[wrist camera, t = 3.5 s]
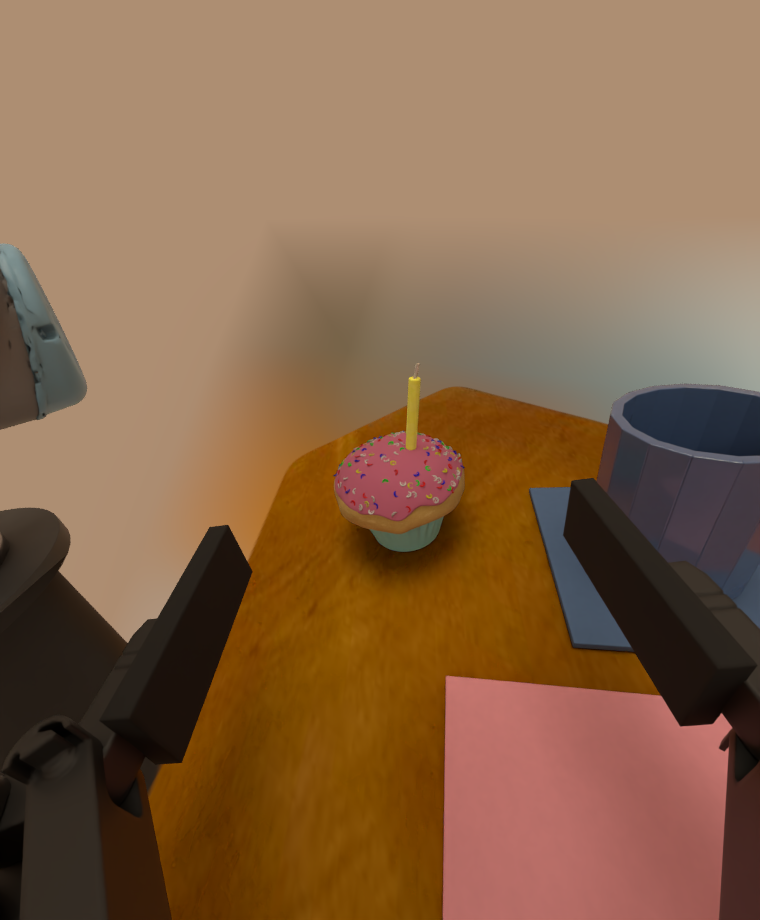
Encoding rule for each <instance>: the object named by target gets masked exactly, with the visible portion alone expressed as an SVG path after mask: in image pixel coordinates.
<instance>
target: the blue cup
mask: <svg viewBox="0 0 760 920" xmlns="http://www.w3.org/2000/svg"><path fill="white" fill-rule="evenodd" d="M596 482H597V483H598V484H599V485H600V486H601V487H602V488H603V490H604V491H605V492H606V493H607V494H608V495H609V496H610V498H611V499H612V500H613V501H614V502H615V503H616V504H617V505H618V507H619V508H620V509H621V510H622V511H623V512H624V513H625V515H626V516H627V517H628V518H629V519H630V520H631V521H632V523H633V524H634V525H635V526H636V527H637V528H638V529H639V530H640V532H641V533H642V534H643V535H644V536H645V537H646V538H647V540H648V541H649V542H650V543H651V544H652V545H653V546H654V548H655V549H656V550H657V551H658V552H659V553H660V554H661V555H662V557H663V558H664V559H665V560H666V561H667V562H668V563H669V562H678V561H687V562H689V563H690V564H692V565H693V566H695V567H697V568H698V569H700V570H701V571H703V572H704V573H706V574H707V575H708V576H709V577H710V578H711V579H712V580H713V581H714V582H715V583H716V584H717V585H718V586H719V587H720V588H721V589H722V590H723V593H724V594H727V595H728V596H729V597H730V598H731V599H732V600H733V599H735V598H736V597H738V596H739V595H741V593H742V592H743V590H744V589H745V587H746V586H747V584H748V583H749V581H750V580H751V578H752V576H753V575H754V573H755V571H756V570H757V568H758V566H759V565H760V392H756V391H751V390H745V389H739V388H732V387H726V386H720V385H700V384H699V385H698V384H674V385H662V386H652V387H647V388H643V389H639V390H636V391H632V392H629V393H626V394H625V395H624V396H622V397H621V398H619V399H617V400H616V401H614V403H613V405H612V410H611V414H610V419H609V424H608V429H607V434H606V438H605V443H604V448H603V453H602V457H601V462H600V467H599V472H598V477H597V481H596Z"/></svg>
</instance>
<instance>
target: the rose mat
mask: <svg viewBox="0 0 760 920" xmlns="http://www.w3.org/2000/svg"><path fill="white" fill-rule="evenodd" d="M731 729H732V727H731V725H730V724H729V723H728V721H727V720H726V718H725V717H724V716H723V714H722V713H721V714H720V716H719V717H718V718H717V720H716V721H715V722H714V724H709V725H696V726H682V727H680V726H679V724H678V722H677V721H676V719H675V717H674V716H673V714H672V712H671V711H670V709H669V708H668V706H667V704H666V703H665V701H664V699H663V698H662V696H658V695H647V694H636V693H625V692H615V691H604V690H593V689H583V688H572V687H561V686H550V685H540V684H529V683H518V682H508V681H497V680H486V679H476V678H465V677H454V676H446V701H445V777H444V854H443V920H719V910H720V892H721V875H722V858H723V840H724V823H725V805H726V788H727V771H728V753H729V747H728V748H727V749H726V751H725V752H724V751H722V750H720V749H719V746H720V743H721V741H722V740H723V738H724V737H725V736H726V735H727V734H728V732H729V731H730V730H731Z"/></svg>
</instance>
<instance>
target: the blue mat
mask: <svg viewBox="0 0 760 920" xmlns="http://www.w3.org/2000/svg"><path fill="white" fill-rule="evenodd" d="M529 493H530V497H531V500H532V504H533V507H534V511H535V514H536V518H537V521H538V525H539V528H540V532H541V536H542V539H543V543H544V546H545V550H546V553H547V557H548V560H549V564H550V567H551V571H552V575H553V578H554V582H555V585H556V589H557V592H558V596H559V599H560V603H561V607H562V610H563V614H564V617H565V621H566V624H567V628H568V631H569V635H570V638H571V642H572V646H573V647H574V648H588V649H603V650H617V651H631V652H634V650H633V649H632V647H631V646H630V644H629V642H628V641H627V639H626V637H625V636H624V634H623V633H622V631H621V629H620V628H619V626H618V624H617V623H616V621H615V619H614V618H613V616H612V615H611V613H610V611H609V610H608V608H607V606H606V605H605V603H604V601H603V600H602V598H601V597H600V595H599V593H598V592H597V590H596V588H595V587H594V585H593V584H592V582H591V580H590V579H589V577H588V575H587V574H586V572H585V570H584V569H583V567H582V566H581V564H580V562H579V561H578V559H577V557H576V556H575V554H574V553H573V551H572V549H571V548H570V546H569V544H568V543H567V541H566V539H565V538H564V536H563V532H564V526H565V519H566V513H567V507H568V500H569V494H570V487H558V488H530V489H529ZM733 601H734V603H735V604H736V605H737V608H740V609H741V610H742V611H743V612H744V613H745V614H746V615H747V616H748V617H749V618H750V619H751V620H752V621H753V622H754V623H755V624H756V625H757V626H758V627H759V628H760V565H759V566H758V568H757V570H756V571H755V573H754V575H753V576H752V578H751V580H750V581H749V583H748V584H747V586H746V587H745V589H744V590H743V592H742V593H741V595H739V596H738V597H736V598H735V599H733Z"/></svg>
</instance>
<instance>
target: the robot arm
mask: <svg viewBox="0 0 760 920" xmlns="http://www.w3.org/2000/svg"><path fill="white" fill-rule="evenodd" d="M86 392H87V385H86V380H85V378H84V375H83V373H82V370H81V368H80V366H79V363H78V361H77V359H76V357H75V355H74V352H73V350H72V348H71V346H70V344H69V342H68V340H67V338H66V336H65V333H64V331H63V330H62V327H61V325H60V323H59V321H58V319H57V317H56V315H55V313H54V311H53V309H52V307H51V305H50V303H49V301H48V299H47V297H46V295H45V293H44V291H43V289H42V287H41V285H40V283H39V281H38V280H37V278H36V276H35V274H34V272H33V270H32V268H31V267H30V265H29V263H28V261H27V260H26V258H25V257H24V256H23V254H22V252H21V251H20V250H19V249H18V248H16V247H14V246H13V245H10V244H0V429H4V428H8V427H11V426H15V425H18V424H22V423H25V422H28V421H32V420H39V419H43V418H44V417H46V415H47V414H49V413H52V412H55V411H58V410H61V409H64V408H66V407H69V406H72V405H75V404H77V403H79V402H80V401H81V400H82V399H83V398H84V397H85V395H86ZM563 536H564V538H565V539H566V541H567V543H568V544H569V546H570V548H571V549H572V551H573V553H574V554H575V556H576V557H577V559H578V561H579V562H580V564H581V566H582V567H583V569H584V570H585V572H586V574H587V575H588V577H589V579H590V580H591V582H592V584H593V585H594V587H595V588H596V590H597V592H598V593H599V595H600V597H601V598H602V600H603V601H604V603H605V605H606V606H607V608H608V610H609V611H610V613H611V615H612V616H613V618H614V619H615V621H616V623H617V624H618V626H619V628H620V629H621V631H622V633H623V634H624V636H625V637H626V639H627V641H628V642H629V644H630V646H631V647H632V649H633V650H634V652H635V654H636V655H637V657H638V659H639V660H640V662H641V664H642V665H643V667H644V668H645V670H646V672H647V673H648V675H649V677H650V678H651V680H652V681H653V683H654V685H655V686H656V688H657V690H658V691H659V693H660V695H661V696H662V698H663V699H664V701H665V703H666V704H667V706H668V708H669V709H670V711H671V712H672V714H673V716H674V717H675V719H676V721H677V722H678V724H679V726H680V727H682V726H696V725H709V724H714V722H715V721H716V720H717V718H718V717H719V716H720V714H721V713H722V714H723V716H724V717H725V718H726V720H727V721H728V723H729V724H730V725H731V727H732V729H731V730H730V731H729V732H728V734H727V735H726V736H725V737H724V738H723V740H722V741H721V743H720V746H719V749H720V750H722V751H724V752H725V751H726V749H727V748H728V747H729V753H728V771H727V788H726V805H725V823H724V840H723V858H722V875H721V892H720V910H719V920H760V628H759V627H758V626H757V625H756V624H755V623H754V622H753V621H752V620H751V619H750V618H749V617H748V616H747V615H746V614H745V613H744V612H743V611H742V610H741V609H740V608H737V605H736V604H735V603H734V601H733V600H732V599H731V598H730V597H729V596H728V595H727V594H724V593H723V590H722V589H721V588H720V587H719V586H718V585H717V584H716V583H715V582H714V581H713V580H712V579H711V578H710V577H709V576H708V575H707V574H706V573H704V572H703V571H701V570H700V569H698V568H697V567H695V566H693V565H692V564H690V563H689V562H687V561H678V562H669V563H668V562H667V561H666V560H665V559H664V558H663V557H662V555H661V554H660V553H659V552H658V551H657V550H656V549H655V548H654V546H653V545H652V544H651V543H650V542H649V541H648V540H647V538H646V537H645V536H644V535H643V534H642V533H641V532H640V530H639V529H638V528H637V527H636V526H635V525H634V524H633V523H632V521H631V520H630V519H629V518H628V517H627V516H626V515H625V513H624V512H623V511H622V510H621V509H620V508H619V507H618V505H617V504H616V503H615V502H614V501H613V500H612V499H611V498H610V496H609V495H608V494H607V493H606V492H605V491H604V490H603V488H602V487H601V486H600V485H599V484H598V483H597V482H596V480H595V479H594V478H589V479H582V480H574V481H571V487H570V494H569V500H568V507H567V513H566V519H565V526H564V532H563ZM8 548H9V543H8V540H7V539H6V538H5V537H4V536H3V535H2V534H1V533H0V565H1V563H2V562H3V560H4V558H5V557H6V554H7V552H8ZM251 574H252V570H251V568H250V566H249V564H248V562H247V560H246V558H245V556H244V555H243V553H242V551H241V549H240V547H239V545H238V543H237V541H236V539H235V537H234V535H233V533H232V532H231V530H230V528H229V526H228V525H223V526H215V527H209V529H208V531H207V533H206V534H205V536H204V538H203V540H202V541H201V543H200V545H199V547H198V548H197V550H196V552H195V554H194V555H193V557H192V559H191V561H190V562H189V564H188V566H187V568H186V569H185V571H184V573H183V575H182V576H181V578H180V580H179V582H178V583H177V585H176V587H175V589H174V590H173V592H172V594H171V596H170V597H169V599H168V601H167V603H166V605H165V606H164V608H163V610H162V611H161V613H160V615H159V617H158V618H157V619H149V620H147V621H146V622H145V623H144V624H143V625H142V626H141V627H140V628H139V629H138V630H137V631H136V632H135V634H134V635H133V636H132V638H131V639H130V641H129V643H128V644H127V646H126V647H125V649H124V651H123V655H121V656H120V657H119V659H118V660H117V662H116V664H115V665H114V669H113V670H111V672H110V674H109V675H108V677H107V679H106V680H105V682H104V683H103V685H102V687H101V688H100V690H99V692H98V693H97V695H96V697H95V698H94V700H93V702H92V703H91V705H90V706H89V708H88V710H87V711H86V713H85V715H84V716H83V718H82V720H81V721H80V723H79V724H77V723H75V722H74V721H72V720H71V719H70V718H68V717H66V716H63V715H61V714H60V715H56V716H51V717H49V718H47V719H45V720H43V721H41V722H39V723H37V724H36V725H35V726H34V727H32V728H31V729H30V730H29V731H27V732H26V733H25V734H24V735H23V736H22V737H21V738H20V739H19V741H18V742H17V743H16V744H15V745H14V746H13V748H12V749H11V751H10V752H9V754H8V755H7V757H6V759H5V761H4V764H3V767H2V770H1V772H2V773H4V774H5V775H3V776H2V775H0V920H172V919H171V914H170V909H169V903H168V898H167V893H166V888H165V883H164V877H163V872H162V867H161V862H160V857H159V852H158V846H157V841H156V836H155V831H154V826H153V821H152V815H151V810H150V805H149V800H148V795H147V790H146V784H145V779H144V775H143V774H142V772H141V770H140V767H141V765H142V762H143V760H144V758H145V757H147V758H148V759H149V760H151V761H152V762H153V763H154V764H156V765H157V764H171V763H182V760H183V758H184V755H185V752H186V749H187V747H188V744H189V741H190V739H191V736H192V733H193V731H194V728H195V725H196V723H197V720H198V717H199V714H200V712H201V709H202V706H203V704H204V701H205V698H206V696H207V693H208V690H209V687H210V685H211V682H212V679H213V677H214V674H215V671H216V669H217V666H218V663H219V660H220V658H221V655H222V652H223V650H224V647H225V644H226V642H227V639H228V636H229V633H230V631H231V628H232V625H233V623H234V620H235V617H236V615H237V612H238V609H239V606H240V604H241V601H242V598H243V596H244V593H245V590H246V588H247V585H248V582H249V580H250V577H251Z"/></svg>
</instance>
